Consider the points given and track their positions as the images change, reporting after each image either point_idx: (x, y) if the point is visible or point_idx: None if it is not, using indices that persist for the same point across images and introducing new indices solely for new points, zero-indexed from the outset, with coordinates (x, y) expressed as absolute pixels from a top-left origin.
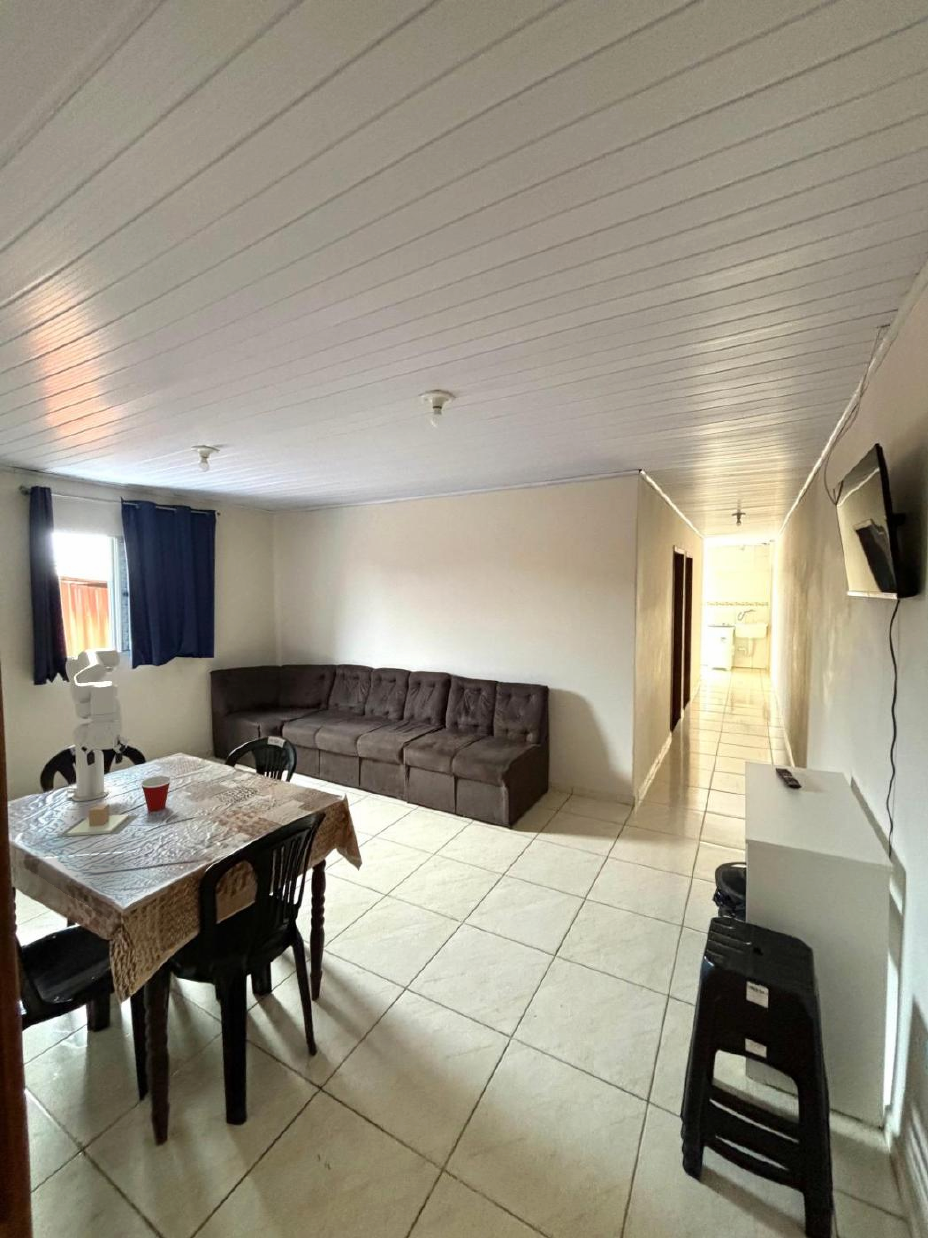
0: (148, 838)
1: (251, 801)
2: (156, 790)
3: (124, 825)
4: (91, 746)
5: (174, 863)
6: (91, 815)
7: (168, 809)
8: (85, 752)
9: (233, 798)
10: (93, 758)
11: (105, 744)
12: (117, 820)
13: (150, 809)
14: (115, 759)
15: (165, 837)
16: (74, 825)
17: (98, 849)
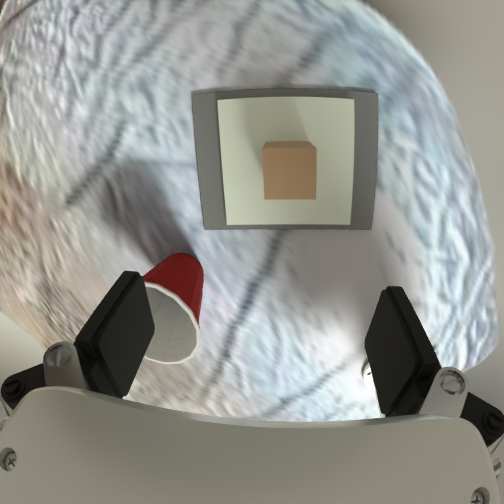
0: (102, 80)
1: (26, 278)
2: None
3: (205, 155)
4: (420, 468)
5: (29, 5)
6: (304, 145)
7: (152, 267)
8: (462, 388)
9: (60, 301)
10: (377, 364)
11: (102, 481)
12: (238, 178)
13: (184, 256)
14: (122, 299)
15: (70, 91)
16: (370, 179)
17: (200, 12)
